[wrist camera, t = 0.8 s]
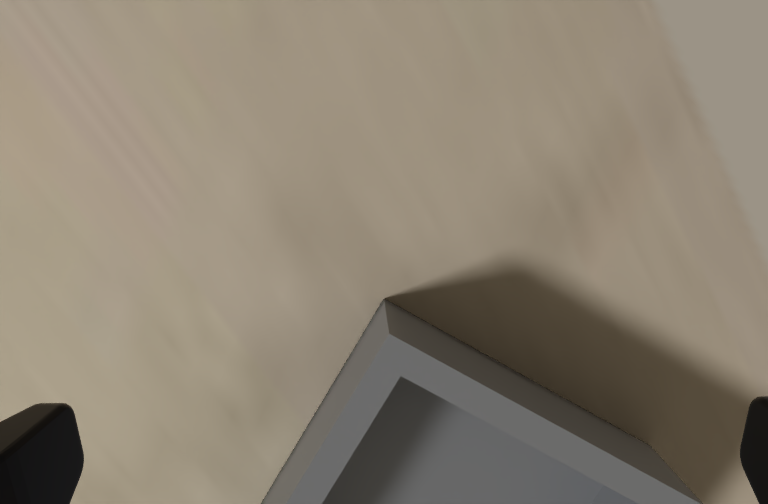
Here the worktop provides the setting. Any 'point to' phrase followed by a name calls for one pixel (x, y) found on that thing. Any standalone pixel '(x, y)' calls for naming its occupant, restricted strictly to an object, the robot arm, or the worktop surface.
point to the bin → (459, 434)
